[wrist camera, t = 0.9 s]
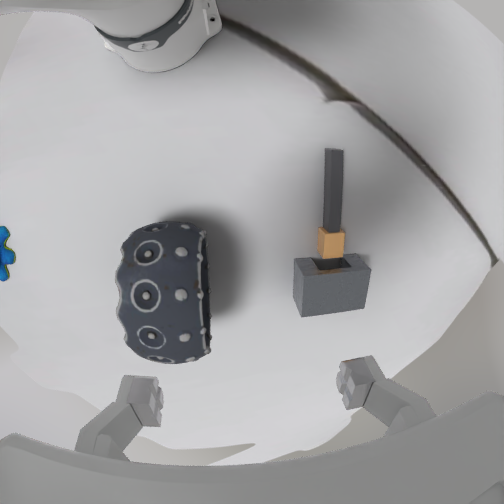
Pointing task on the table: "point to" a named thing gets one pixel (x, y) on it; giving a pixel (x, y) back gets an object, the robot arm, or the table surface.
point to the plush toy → (5, 254)
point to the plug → (332, 207)
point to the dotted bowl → (165, 292)
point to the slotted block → (330, 286)
